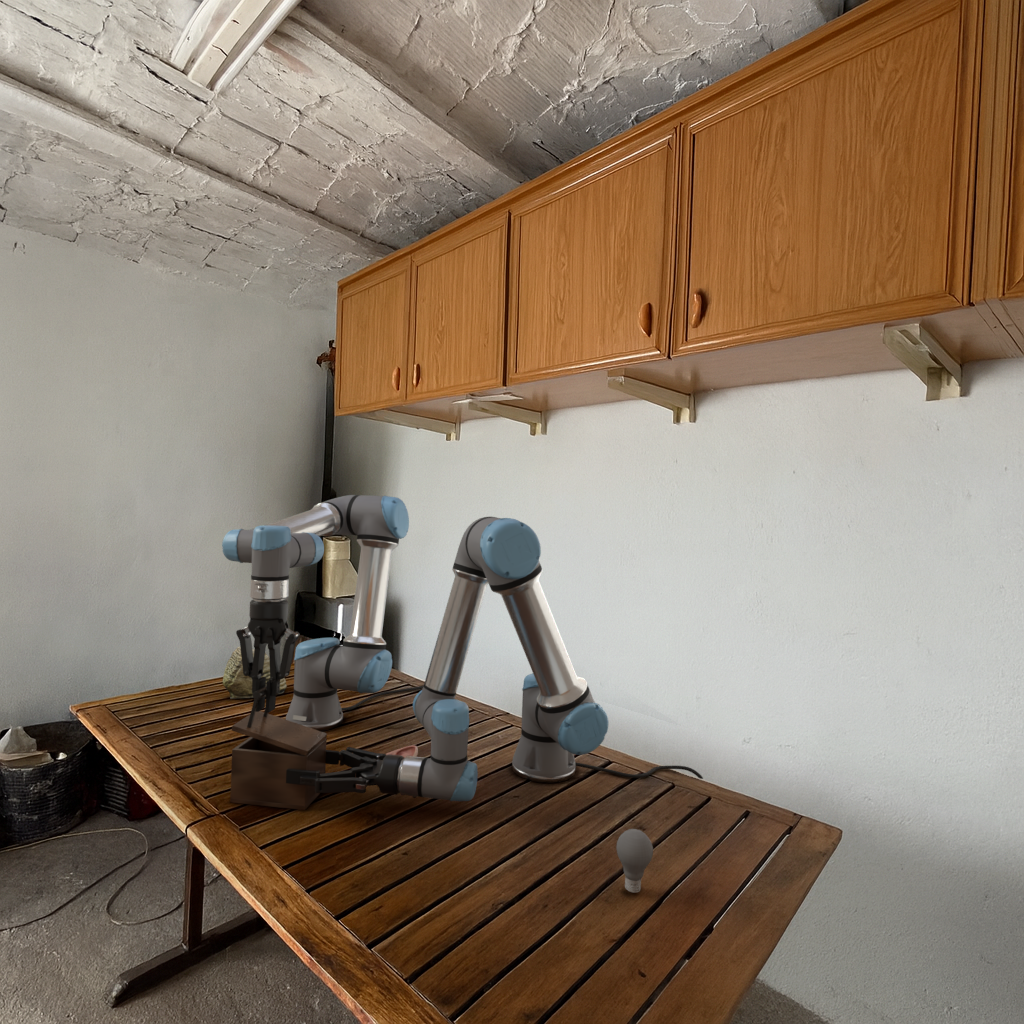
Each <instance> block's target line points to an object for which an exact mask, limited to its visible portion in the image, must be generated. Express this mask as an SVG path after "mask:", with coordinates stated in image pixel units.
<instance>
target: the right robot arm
mask: <svg viewBox="0 0 1024 1024" xmlns="http://www.w3.org/2000/svg"><path fill="white" fill-rule="evenodd" d="M541 555H542V546H541V542H540V539H539V537H538V535H537V534H536V532H535V531H534V530H533V528H532V527H531V526H529V525H528V524H527V523H524V522H522V521H520V520H518V519H516V518H510V517H497V516H484V517H483V516H482V517H480V518H478V519H476V520H474V521H472V522H471V523H470V524H469V525H468V526H467V528H466V529H465V531H464V532H463V535H462V537H461V539H460V542H459V544H458V548H457V552H456V555H455V558H454V562H453V566H452V569H451V570H452V572H453V574H454V578H453V581H452V586H451V588H450V592H449V595H448V599H447V603H446V607H445V610H444V613H443V617H442V621H441V624H440V628H439V631H438V634H437V637H436V641H435V646H434V648H433V651H432V656H431V659H430V662H429V666H428V670H427V673H426V676H425V680H424V683H423V685H424V686H423V685H422V686H423V688H422V689H420V691H419V692H418V693H417V694H416V695H415V696H414V698H413V701H412V711H413V713H414V716H415V718H416V720H417V722H418V723H420V724H421V726H422V727H423V728H424V730H425V731H426V733H427V734H428V736H429V737H430V755H429V756H430V758H429V757H424V756H417V757H415V756H406V757H405V758H404V757H403V756H401V755H391V754H388V755H386V753H379V752H373V751H369V750H365V749H360V748H355V747H351V746H347V747H346V749H342V750H332V749H326V765H335V766H338V765H339V767H342V766H346V767H349V768H350V769H349V770H341V771H334V772H325V773H324V774H320V772H319V770H318V771H309V770H299V769H287V770H286V783H288V784H298V785H308V786H315V793H320V794H337V793H339V794H340V793H357V794H366V793H367V788H368V787H372V786H377V788H378V790H379V792H380V793H381V794H383V795H393V796H397V795H398V794H400V795H401V796H406V797H412V798H413V799H417V798H427V799H436V800H444V801H449V802H470V801H471V800H473V799H474V797H475V795H476V791H477V785H478V777H479V776H478V775H479V771H478V764H477V763H476V762H474V761H471V760H468V759H469V758H468V747H469V726H470V711H469V710H470V708H469V706H468V704H467V703H466V702H465V701H462V700H460V699H456V695H457V691H458V688H459V684H460V680H461V678H462V674H463V670H464V666H465V663H466V660H467V657H468V652H469V649H470V646H471V643H472V639H473V637H474V636H473V635H474V632H475V628H476V625H477V622H478V619H479V615H480V612H481V607H482V604H483V601H484V597H485V594H486V591H487V587H488V586H489V588H490V590H491V592H493V593H496V594H498V595H500V596H501V598H502V600H503V601H502V602H503V603H504V605H505V608H506V611H507V614H508V615H509V618H510V620H511V622H512V625H513V627H514V630H515V633H516V635H517V637H518V640H519V642H520V645H521V647H522V650H523V652H524V655H525V657H526V659H527V663H528V665H529V666H530V669H531V672H532V673H529V674H526V675H525V677H524V679H523V685H522V689H521V691H522V701H521V702H522V703H521V728H520V729H521V731H520V737H519V740H518V743H517V745H516V748H515V750H514V754H513V755H512V756H513V757H512V760H511V761H512V762H511V769H512V771H513V772H514V773H515V774H516V775H517V776H519V777H521V778H523V779H525V780H529V781H532V782H537V783H559V782H564V781H567V780H570V779H571V778H572V777H574V776H575V774H576V768H577V767H580V768H584V769H590V770H594V771H598V772H603V773H608V774H611V775H615V776H619V777H622V778H623V777H624V778H629V779H641V778H642V779H644V778H646V777H649V776H650V775H652V774H653V773H655V772H657V771H661V770H681V771H682V770H683V771H688V772H690V773H692V774H694V775H695V776H696V777H697V778H698V779H700V780H703V779H704V777H703V776H702V775H701V773H699V772H698V770H695V769H693V768H691V767H689V766H687V765H686V766H685V765H658V766H659V767H658V766H654V767H652V768H651V769H650V770H648V771H646V772H644V773H635V774H632V773H625V772H622V771H617V770H613V769H610V768H605V767H601V766H596V765H591V764H586V763H581V762H576V759H575V755H577V756H583V755H588V754H590V753H591V752H594V751H595V750H596V749H597V748H599V747H600V746H601V744H602V743H603V742H604V740H605V737H606V735H607V733H608V732H609V717H608V714H607V711H606V710H605V709H604V708H603V706H602V705H601V704H599V703H598V702H596V701H595V700H594V697H593V694H592V692H591V690H590V687H589V684H588V682H587V680H586V679H585V678H584V677H582V676H578V675H577V673H576V671H575V668H574V665H573V663H572V660H571V658H570V656H569V655H570V654H569V653H568V651H567V648H566V645H565V642H564V640H563V638H562V635H561V632H560V629H559V627H558V625H557V623H556V620H555V617H554V615H553V612H552V610H551V607H550V605H549V602H548V599H547V597H546V594H545V592H544V590H543V587H542V585H541V581H540V577H541V575H542V573H543V568H542V565H541V562H540V558H541Z"/></svg>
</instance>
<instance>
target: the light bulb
mask: <svg viewBox="0 0 1024 1024" xmlns="http://www.w3.org/2000/svg"><path fill="white" fill-rule="evenodd" d="M615 849H616V854H617V857H618V859H619V861H620V863H621V865H622V867H623V873H624V874H623V875H624V876H625V878H624V888H625V890H627V891H628V892H630V893H634V894H635V893H639V892H640V891H641V889H642V887H641V886H642V879H643V877H644V875H645V871H646V868H647V867H648V866H649V864H650V863H651V861H652V859H653V855H654V847H653V843H652V841H651V838H649V836H648V835H647V834H646V833H645V832H643V831H642V830H641V829H636V828H629V829H627V830H625V831H623V832H622V833H621V834H620V835H619V837H618V839H617V841H616V847H615Z"/></svg>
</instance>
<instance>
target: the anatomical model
mask: <svg viewBox="0 0 1024 1024" xmlns="http://www.w3.org/2000/svg"><path fill="white" fill-rule="evenodd" d="M385 754H386V755H388V754H391V755H401V756H403V757H404V758H405V757H406V756H415V757H418V755H419V748H418V746H417V745H412V744H411V745H407V746H404V747H401V748H400V747H399V748H398V749H394V750H391V751H389V752H387V753H385Z"/></svg>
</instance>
